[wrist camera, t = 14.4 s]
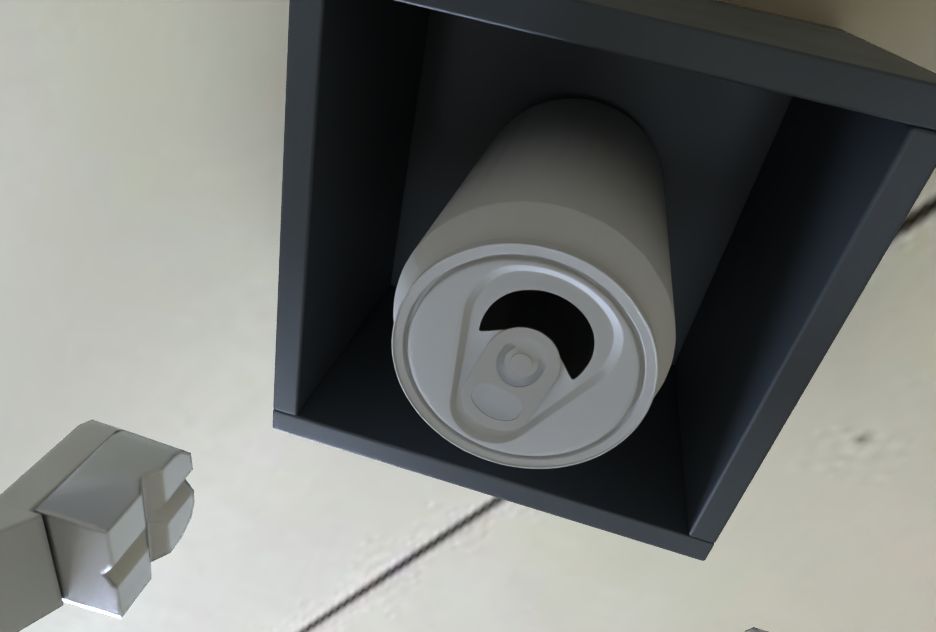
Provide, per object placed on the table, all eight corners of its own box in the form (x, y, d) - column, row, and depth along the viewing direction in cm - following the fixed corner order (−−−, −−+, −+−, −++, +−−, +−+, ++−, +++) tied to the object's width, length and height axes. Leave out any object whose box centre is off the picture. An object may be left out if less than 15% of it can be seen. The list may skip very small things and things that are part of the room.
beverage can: (700, 149, 22) (750, 327, 12) (601, 293, 26) (576, 526, 16) (533, 58, 22) (443, 163, 12) (456, 216, 25) (334, 402, 15)
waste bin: (423, -67, 22) (290, -68, 13) (842, 29, 20) (981, 94, 12) (377, 287, 29) (271, 428, 21) (685, 374, 28) (704, 562, 19)
